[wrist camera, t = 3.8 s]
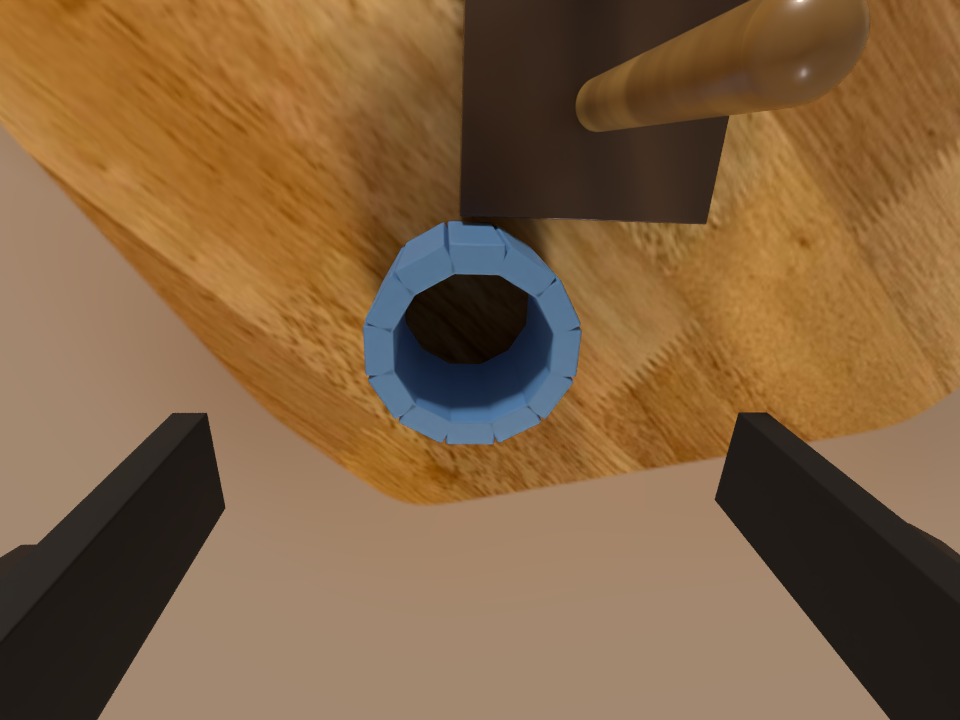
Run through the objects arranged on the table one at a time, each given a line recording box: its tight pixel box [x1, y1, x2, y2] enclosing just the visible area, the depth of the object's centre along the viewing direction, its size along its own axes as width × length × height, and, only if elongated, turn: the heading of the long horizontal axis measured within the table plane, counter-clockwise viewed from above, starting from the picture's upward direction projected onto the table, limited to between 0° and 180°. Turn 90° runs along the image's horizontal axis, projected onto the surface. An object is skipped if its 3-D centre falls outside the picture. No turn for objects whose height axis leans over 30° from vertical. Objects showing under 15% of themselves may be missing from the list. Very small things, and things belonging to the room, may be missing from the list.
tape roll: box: [363, 221, 582, 444], centre depth 21 cm, size 8×8×6 cm
